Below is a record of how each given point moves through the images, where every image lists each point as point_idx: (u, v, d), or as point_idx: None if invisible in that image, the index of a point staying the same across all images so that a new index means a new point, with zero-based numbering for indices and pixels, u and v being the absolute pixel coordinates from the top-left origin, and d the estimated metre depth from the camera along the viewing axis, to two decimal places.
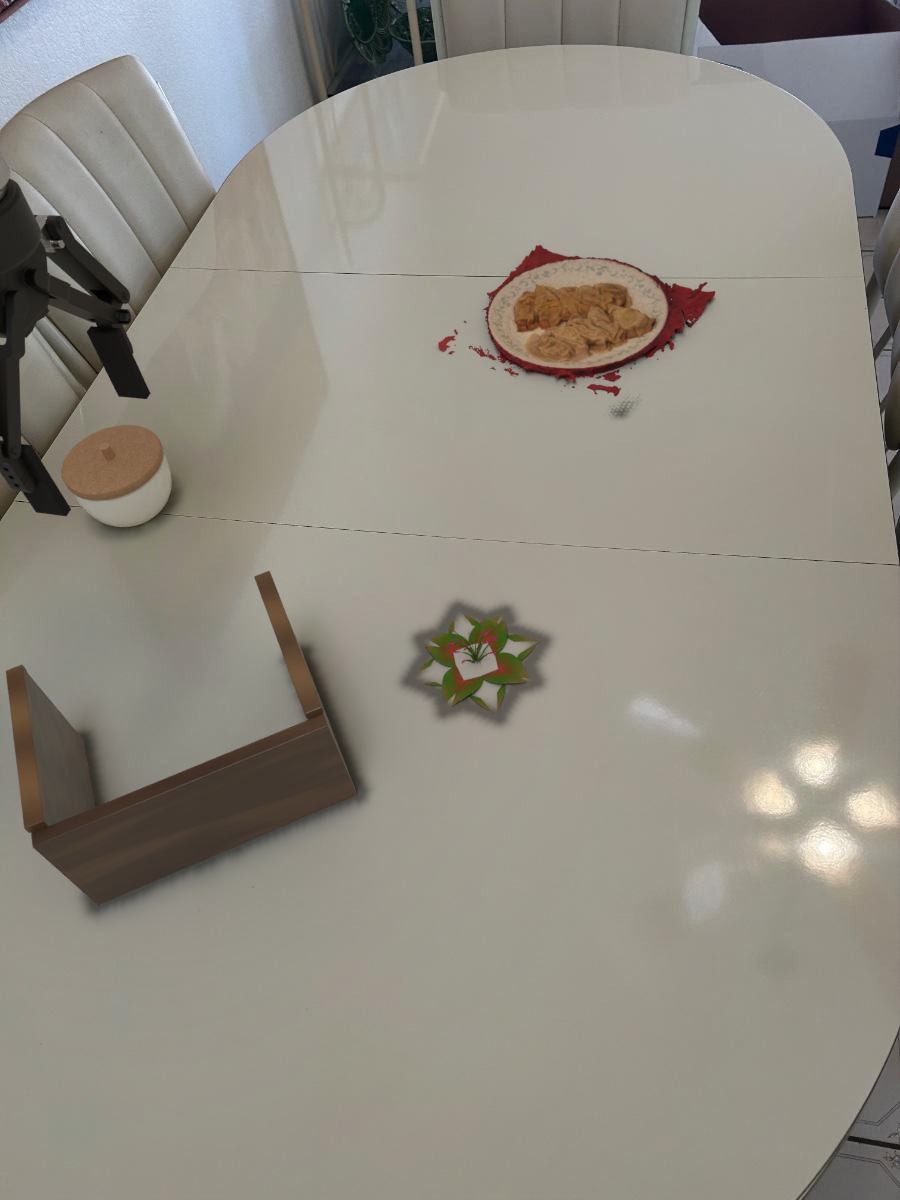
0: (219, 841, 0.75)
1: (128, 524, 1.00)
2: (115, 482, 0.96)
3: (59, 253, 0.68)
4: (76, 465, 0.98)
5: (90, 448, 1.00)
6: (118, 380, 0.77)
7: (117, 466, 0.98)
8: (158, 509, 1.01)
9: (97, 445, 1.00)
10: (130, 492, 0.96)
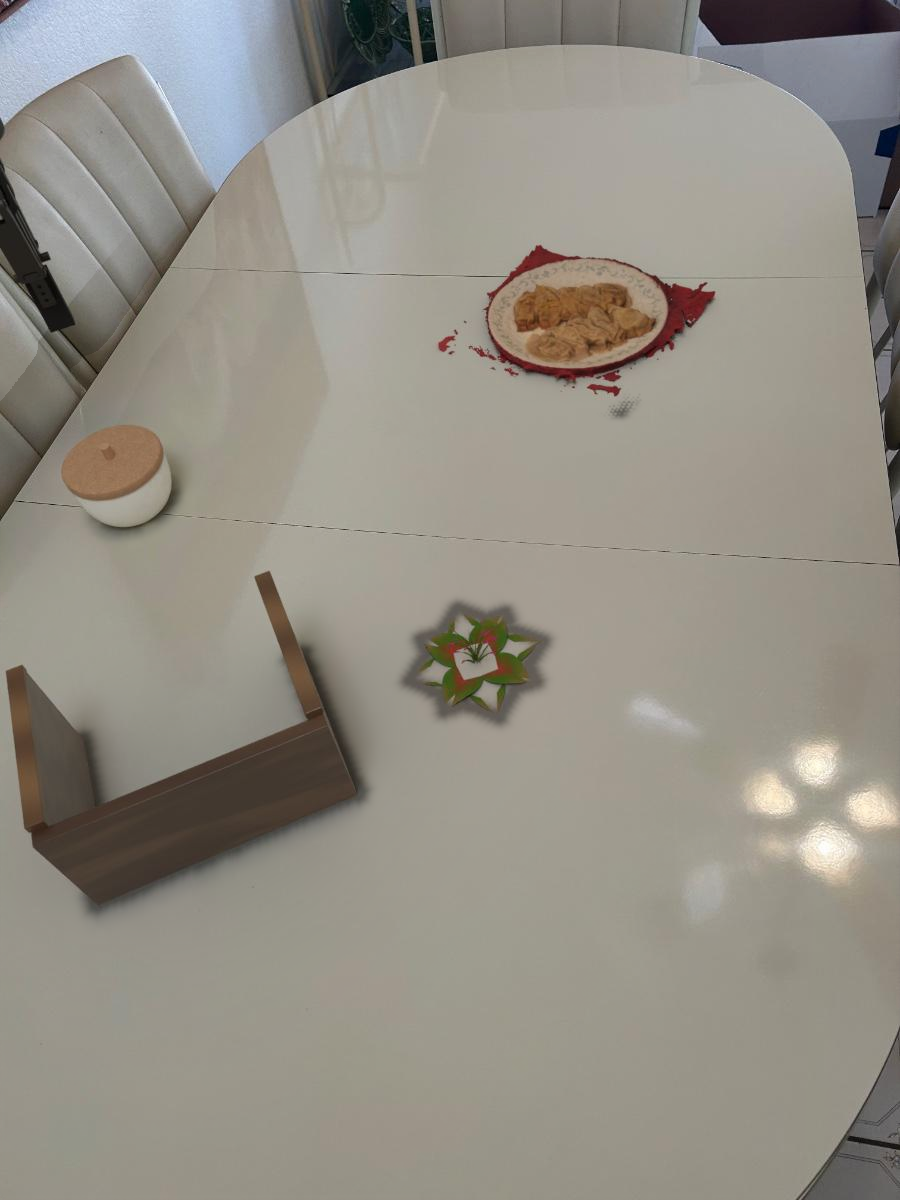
0: (219, 841, 0.75)
1: (128, 524, 1.00)
2: (115, 482, 0.96)
3: None
4: (76, 465, 0.98)
5: (90, 448, 1.00)
6: None
7: (117, 466, 0.98)
8: (158, 509, 1.01)
9: (97, 445, 1.00)
10: (130, 492, 0.96)
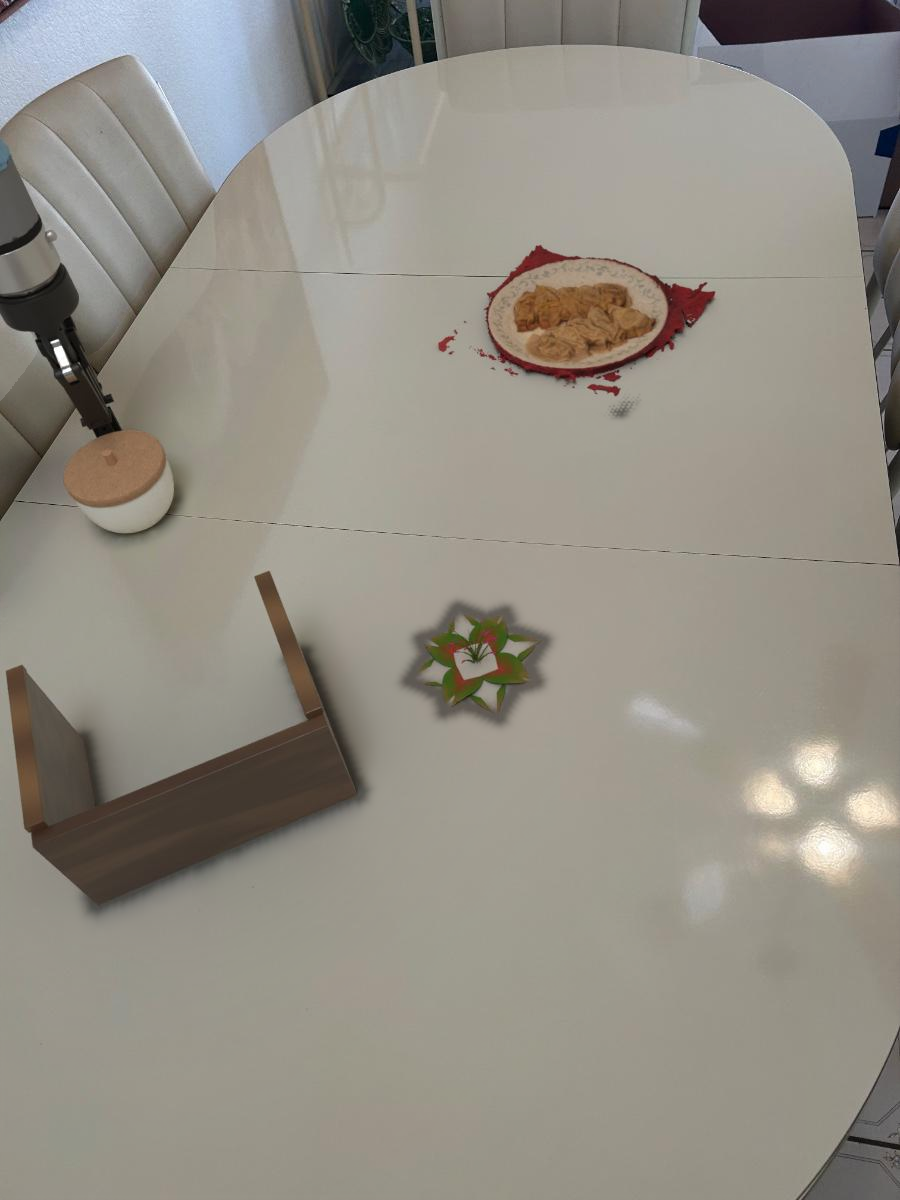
0: (219, 841, 0.75)
1: (130, 530, 1.00)
2: (117, 489, 0.95)
3: None
4: (78, 471, 0.98)
5: (92, 454, 0.99)
6: None
7: (119, 472, 0.97)
8: (160, 515, 1.00)
9: (99, 451, 0.99)
10: (132, 499, 0.96)
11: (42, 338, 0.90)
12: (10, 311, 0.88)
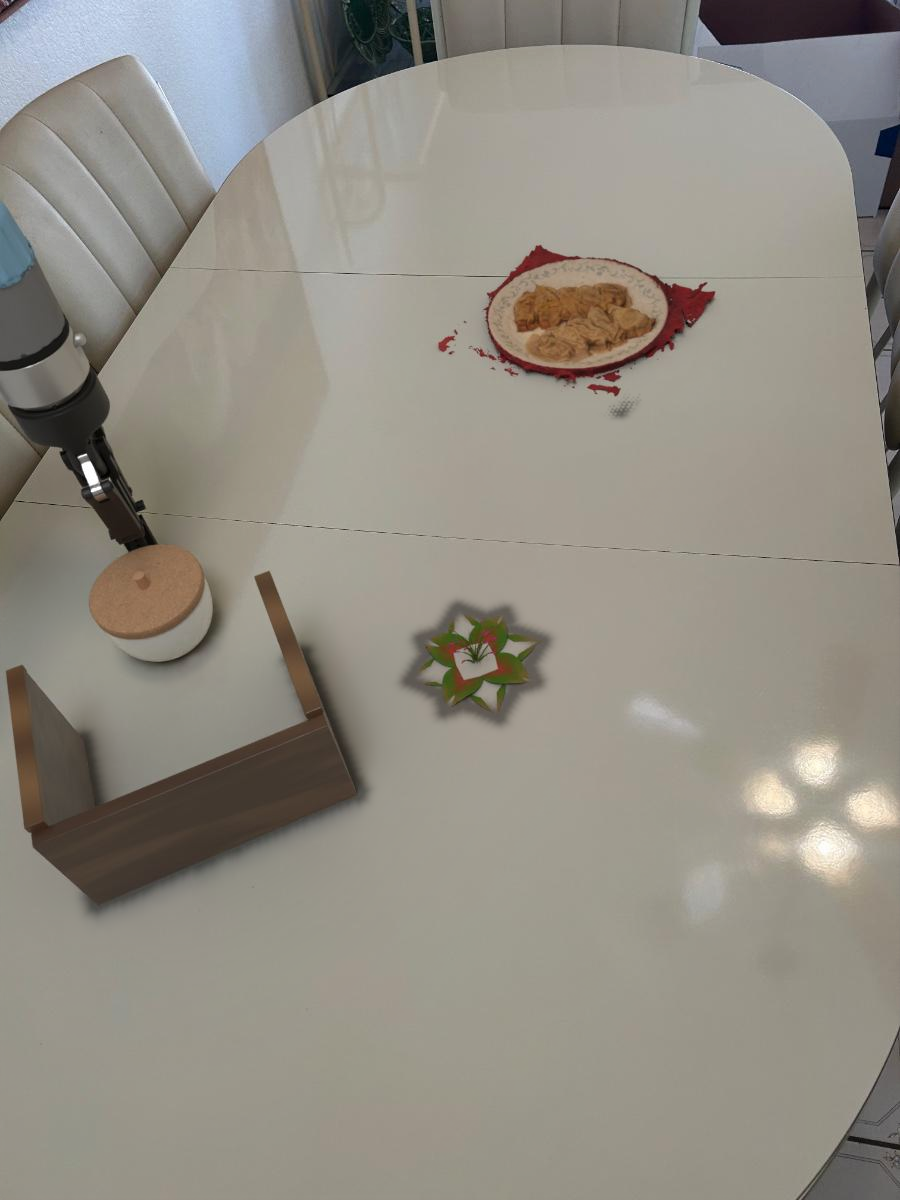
0: (219, 841, 0.75)
1: (162, 660, 0.88)
2: (149, 620, 0.84)
3: None
4: (106, 594, 0.86)
5: (123, 573, 0.88)
6: None
7: (152, 598, 0.85)
8: (196, 643, 0.89)
9: (130, 569, 0.88)
10: (165, 630, 0.84)
11: (68, 453, 0.79)
12: (32, 426, 0.76)
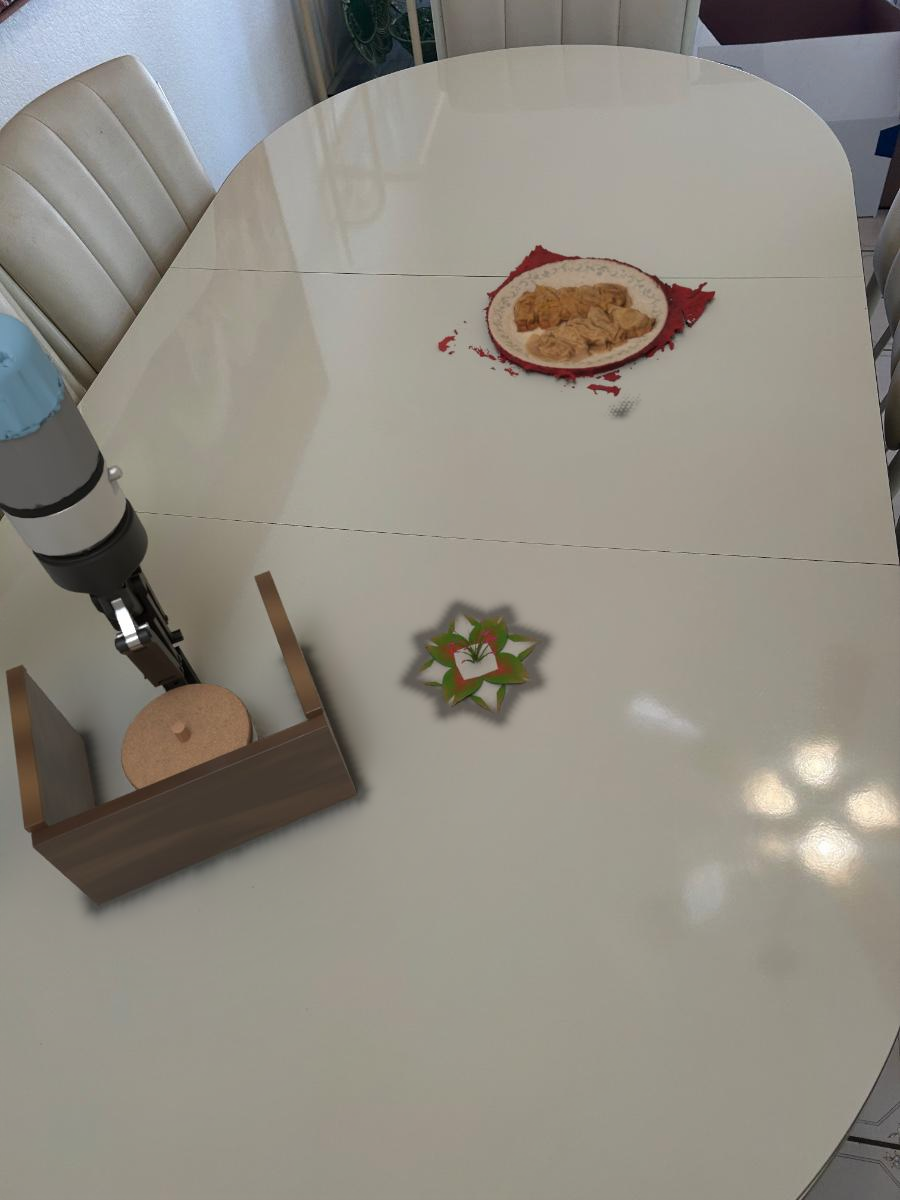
0: (219, 841, 0.75)
1: None
2: None
3: None
4: (140, 746, 0.75)
5: (159, 720, 0.77)
6: None
7: (193, 754, 0.74)
8: None
9: (168, 715, 0.77)
10: None
11: (100, 600, 0.68)
12: (59, 572, 0.65)
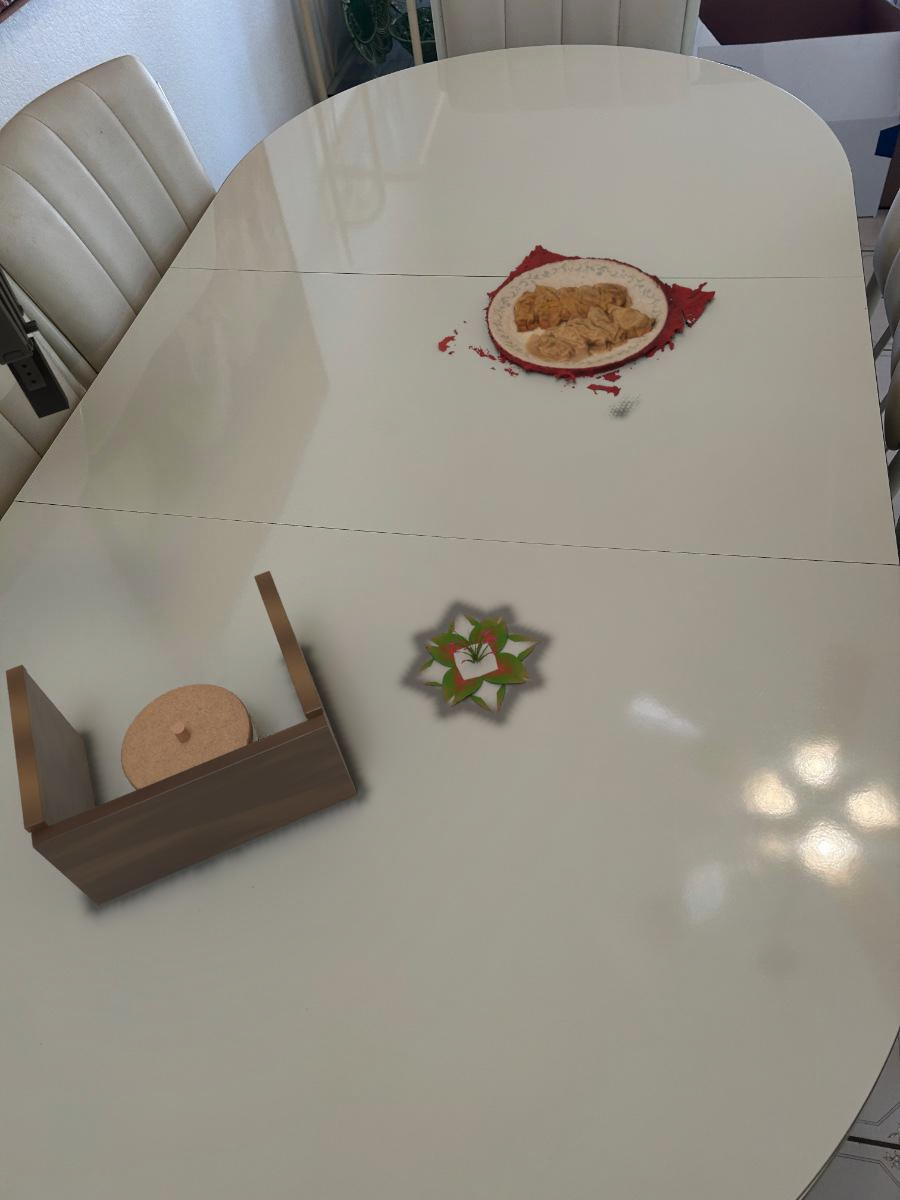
0: (219, 841, 0.75)
1: None
2: None
3: None
4: (140, 747, 0.75)
5: (159, 720, 0.77)
6: None
7: (193, 754, 0.74)
8: None
9: (168, 716, 0.77)
10: None
11: None
12: None
